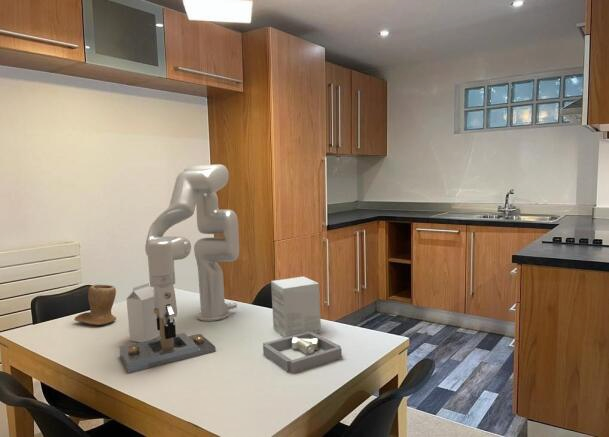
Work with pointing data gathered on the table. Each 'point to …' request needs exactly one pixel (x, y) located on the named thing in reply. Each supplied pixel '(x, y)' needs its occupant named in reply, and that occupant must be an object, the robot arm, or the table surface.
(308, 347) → the pipe fitting
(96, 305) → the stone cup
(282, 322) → the supplement box
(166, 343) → the handle
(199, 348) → the lower end link
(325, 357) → the parts fence
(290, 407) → the table surface
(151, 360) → the upper end link
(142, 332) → the milk carton
